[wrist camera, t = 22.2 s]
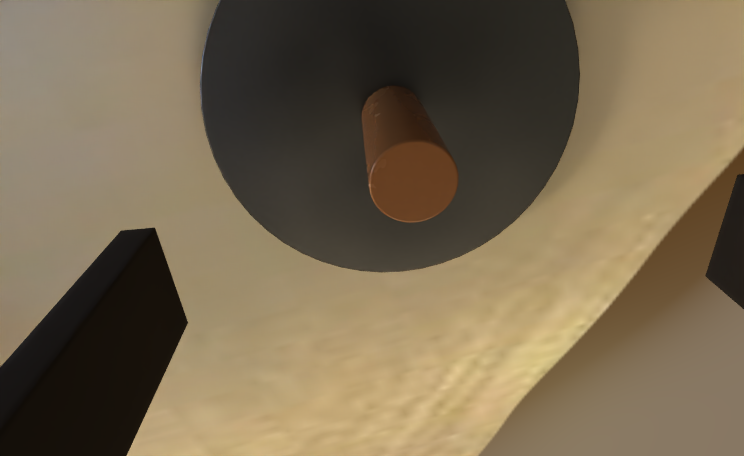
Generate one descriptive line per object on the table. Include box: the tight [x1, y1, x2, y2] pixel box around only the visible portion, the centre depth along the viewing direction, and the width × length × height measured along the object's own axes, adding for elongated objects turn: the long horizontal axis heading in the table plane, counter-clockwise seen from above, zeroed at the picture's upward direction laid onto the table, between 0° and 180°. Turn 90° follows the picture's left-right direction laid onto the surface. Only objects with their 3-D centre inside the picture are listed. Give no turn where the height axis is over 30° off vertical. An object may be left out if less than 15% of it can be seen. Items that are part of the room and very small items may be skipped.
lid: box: [200, 0, 580, 272], centre depth 18 cm, size 17×17×9 cm
